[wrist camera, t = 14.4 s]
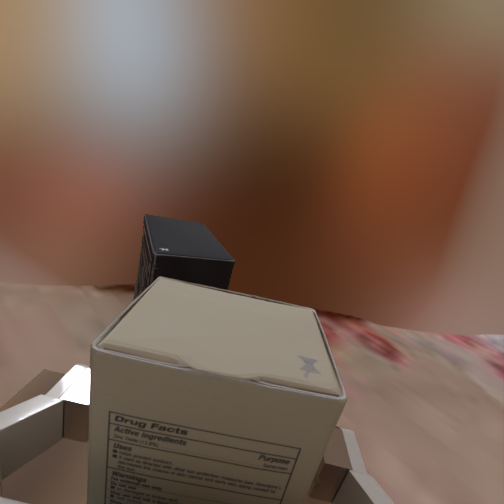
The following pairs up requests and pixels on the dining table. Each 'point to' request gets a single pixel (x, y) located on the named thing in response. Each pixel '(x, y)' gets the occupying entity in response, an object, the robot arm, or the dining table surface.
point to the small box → (181, 254)
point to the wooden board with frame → (56, 462)
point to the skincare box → (209, 399)
